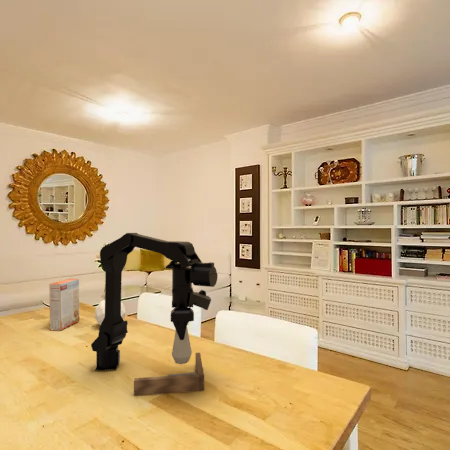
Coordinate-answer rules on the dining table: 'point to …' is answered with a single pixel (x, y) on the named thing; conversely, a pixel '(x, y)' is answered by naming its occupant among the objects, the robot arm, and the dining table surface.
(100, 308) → the geodesic sphere
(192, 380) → the corner walls
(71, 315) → the cracker box
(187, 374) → the slate mat
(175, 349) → the salt shaker
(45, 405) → the dining table surface
